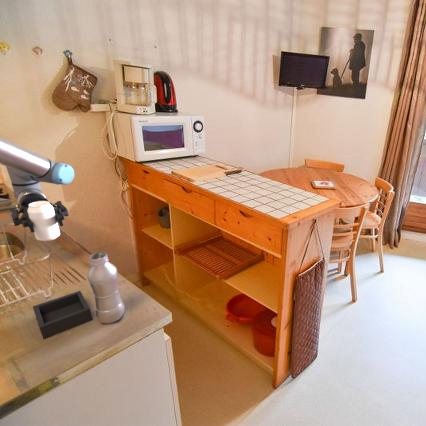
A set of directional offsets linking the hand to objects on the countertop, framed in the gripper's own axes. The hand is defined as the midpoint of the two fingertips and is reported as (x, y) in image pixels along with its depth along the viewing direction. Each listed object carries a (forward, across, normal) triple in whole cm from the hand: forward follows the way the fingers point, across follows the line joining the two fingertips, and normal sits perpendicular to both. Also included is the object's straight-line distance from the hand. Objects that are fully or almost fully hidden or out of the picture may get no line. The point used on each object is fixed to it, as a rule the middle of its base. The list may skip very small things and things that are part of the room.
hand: (46, 225), depth 97 cm
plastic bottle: (+33, -6, -18) cm, 38 cm away
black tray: (+25, +4, -18) cm, 31 cm away
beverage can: (-5, 0, -7) cm, 8 cm away
